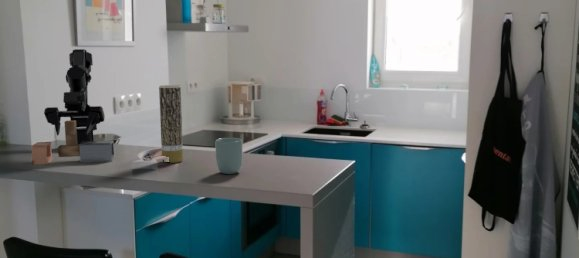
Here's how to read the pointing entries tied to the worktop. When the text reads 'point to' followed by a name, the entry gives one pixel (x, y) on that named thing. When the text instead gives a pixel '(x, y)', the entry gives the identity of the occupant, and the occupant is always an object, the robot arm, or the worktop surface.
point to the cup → (229, 155)
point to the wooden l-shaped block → (70, 141)
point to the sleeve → (96, 151)
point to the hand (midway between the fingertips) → (71, 134)
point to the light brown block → (41, 153)
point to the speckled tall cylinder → (171, 122)
